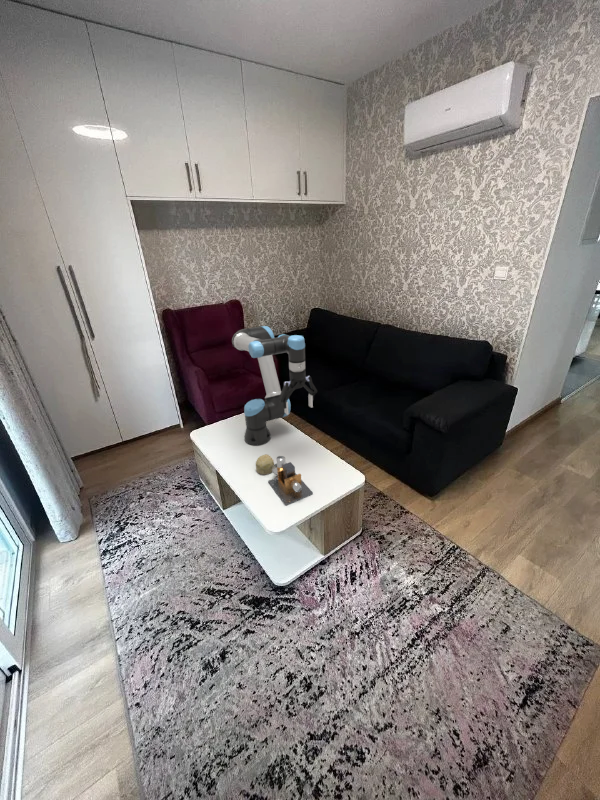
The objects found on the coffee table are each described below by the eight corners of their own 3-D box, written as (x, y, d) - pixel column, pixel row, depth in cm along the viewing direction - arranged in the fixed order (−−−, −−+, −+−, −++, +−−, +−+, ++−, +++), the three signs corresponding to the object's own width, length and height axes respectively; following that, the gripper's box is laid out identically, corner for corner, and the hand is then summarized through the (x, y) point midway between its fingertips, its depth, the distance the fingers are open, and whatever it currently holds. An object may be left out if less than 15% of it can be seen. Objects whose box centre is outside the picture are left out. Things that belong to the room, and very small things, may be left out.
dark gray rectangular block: (284, 485, 154) (282, 464, 149) (291, 482, 156) (290, 462, 150) (288, 490, 151) (286, 469, 145) (295, 487, 152) (294, 466, 147)
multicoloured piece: (265, 478, 160) (263, 458, 155) (290, 469, 166) (289, 449, 161) (285, 505, 143) (283, 484, 138) (312, 494, 149) (312, 473, 144)
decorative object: (262, 482, 164) (271, 471, 158) (248, 467, 165) (256, 456, 160) (272, 472, 171) (281, 461, 166) (259, 459, 173) (267, 448, 167)
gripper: (276, 377, 144) (279, 419, 154) (324, 366, 155) (324, 406, 164) (269, 372, 150) (272, 413, 160) (315, 362, 161) (316, 401, 170)
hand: (298, 410), depth 162 cm, fingers open, 13 cm apart
